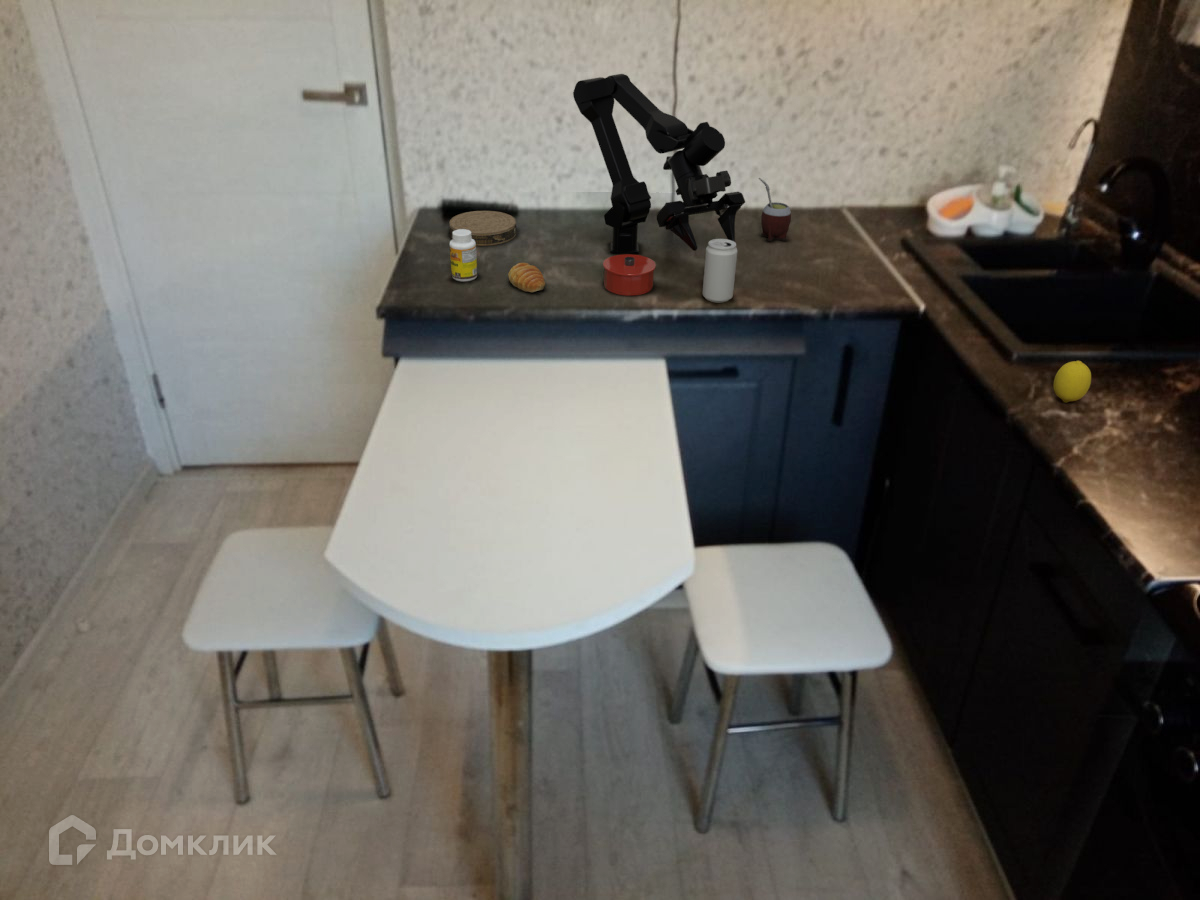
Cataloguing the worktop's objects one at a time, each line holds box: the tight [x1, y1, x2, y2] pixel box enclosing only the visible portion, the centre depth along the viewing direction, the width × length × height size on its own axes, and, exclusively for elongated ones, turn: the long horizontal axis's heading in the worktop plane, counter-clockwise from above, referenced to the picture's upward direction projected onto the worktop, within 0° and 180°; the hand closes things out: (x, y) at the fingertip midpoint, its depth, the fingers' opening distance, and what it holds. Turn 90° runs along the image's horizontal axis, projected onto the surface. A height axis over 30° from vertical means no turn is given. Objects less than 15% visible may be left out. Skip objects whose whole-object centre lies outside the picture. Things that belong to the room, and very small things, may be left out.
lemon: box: [1052, 360, 1092, 403], centre depth 155 cm, size 6×6×8 cm
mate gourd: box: [758, 177, 792, 243], centre depth 217 cm, size 8×8×15 cm
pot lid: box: [602, 253, 657, 276], centre depth 193 cm, size 11×11×2 cm
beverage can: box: [701, 238, 739, 304], centre depth 188 cm, size 6×6×12 cm
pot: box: [603, 267, 655, 296], centre depth 194 cm, size 10×10×4 cm
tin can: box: [449, 210, 517, 247], centre depth 219 cm, size 16×16×3 cm
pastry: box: [507, 262, 546, 293], centre depth 193 cm, size 9×7×4 cm
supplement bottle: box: [448, 229, 478, 283], centre depth 195 cm, size 6×6×10 cm
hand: (714, 246), depth 188 cm, fingers open, 9 cm apart
